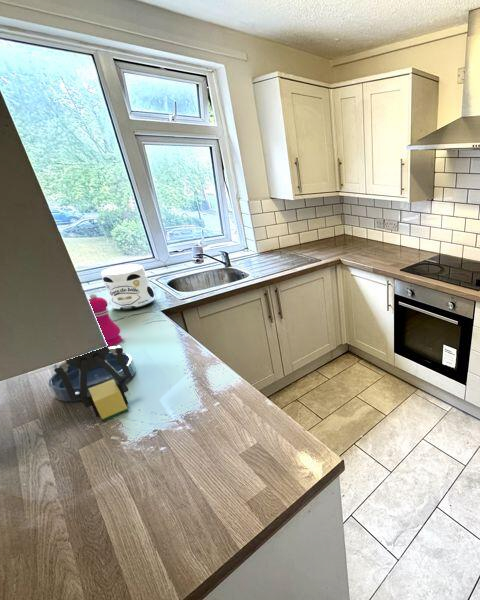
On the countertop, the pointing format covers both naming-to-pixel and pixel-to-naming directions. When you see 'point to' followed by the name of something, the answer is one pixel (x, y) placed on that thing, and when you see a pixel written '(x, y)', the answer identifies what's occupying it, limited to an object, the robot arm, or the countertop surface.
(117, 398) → the sponge
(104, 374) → the bowl
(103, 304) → the pepper mill
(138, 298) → the milk container
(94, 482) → the countertop surface
